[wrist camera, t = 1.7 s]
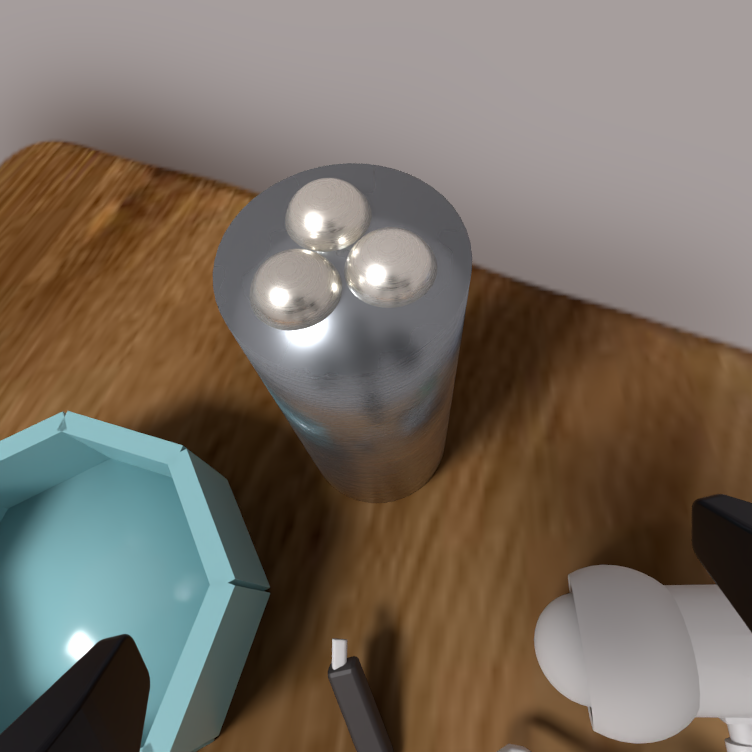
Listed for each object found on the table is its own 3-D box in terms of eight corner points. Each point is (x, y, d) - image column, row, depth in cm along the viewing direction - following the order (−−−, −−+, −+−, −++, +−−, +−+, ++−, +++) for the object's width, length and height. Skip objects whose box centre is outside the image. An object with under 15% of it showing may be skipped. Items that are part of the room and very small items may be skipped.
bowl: (171, 865, 17) (96, 938, 13) (-120, 727, 20) (-258, 753, 16) (303, 501, 22) (278, 473, 18) (57, 425, 25) (-13, 386, 21)
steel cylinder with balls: (425, 520, 22) (435, 390, 10) (292, 480, 23) (151, 319, 11) (459, 392, 24) (501, 159, 12) (337, 362, 25) (262, 120, 13)
